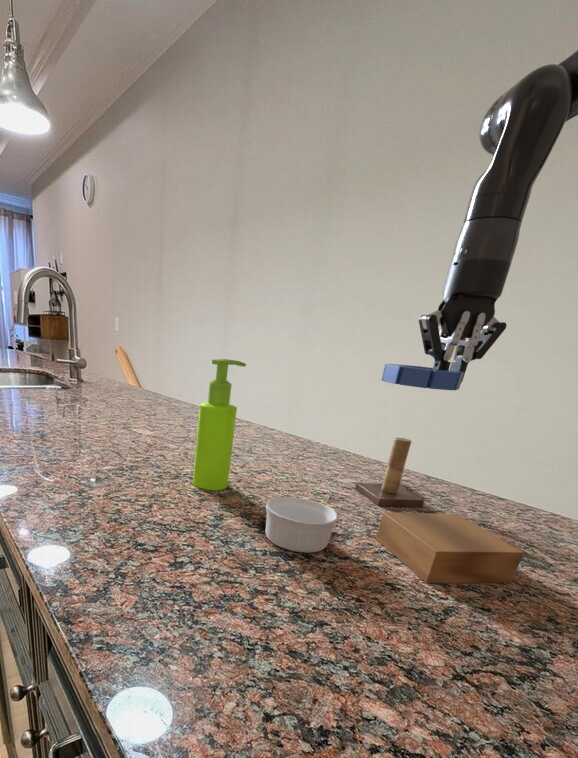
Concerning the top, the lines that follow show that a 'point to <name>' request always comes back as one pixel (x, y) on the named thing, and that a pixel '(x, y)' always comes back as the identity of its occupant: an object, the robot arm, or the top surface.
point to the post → (392, 481)
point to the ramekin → (299, 524)
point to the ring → (422, 377)
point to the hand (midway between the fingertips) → (444, 386)
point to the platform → (448, 548)
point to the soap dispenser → (215, 432)
